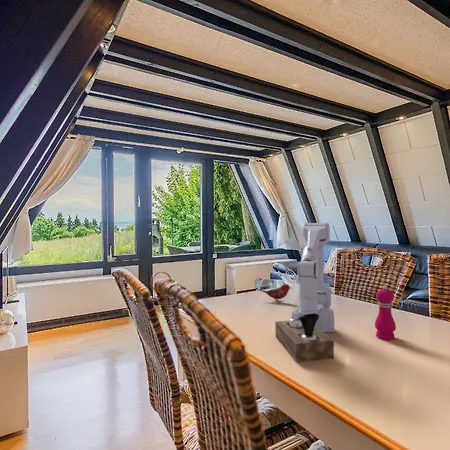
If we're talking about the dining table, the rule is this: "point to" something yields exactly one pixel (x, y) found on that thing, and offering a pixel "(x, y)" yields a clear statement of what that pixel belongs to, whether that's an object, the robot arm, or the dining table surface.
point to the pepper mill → (385, 315)
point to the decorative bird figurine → (278, 292)
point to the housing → (304, 343)
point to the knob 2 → (308, 337)
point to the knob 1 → (295, 323)
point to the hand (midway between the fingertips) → (308, 335)
